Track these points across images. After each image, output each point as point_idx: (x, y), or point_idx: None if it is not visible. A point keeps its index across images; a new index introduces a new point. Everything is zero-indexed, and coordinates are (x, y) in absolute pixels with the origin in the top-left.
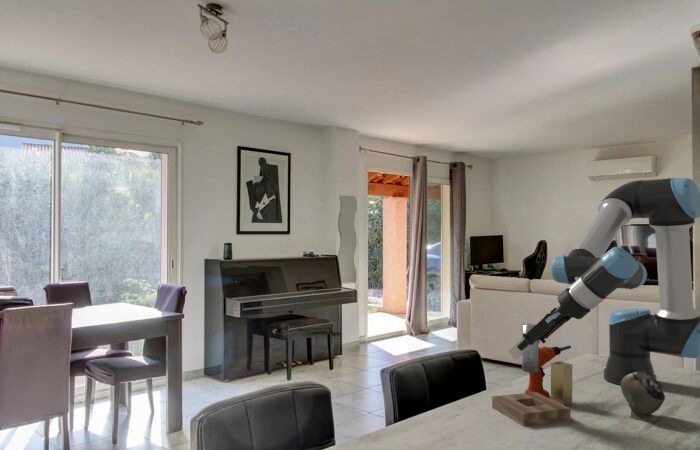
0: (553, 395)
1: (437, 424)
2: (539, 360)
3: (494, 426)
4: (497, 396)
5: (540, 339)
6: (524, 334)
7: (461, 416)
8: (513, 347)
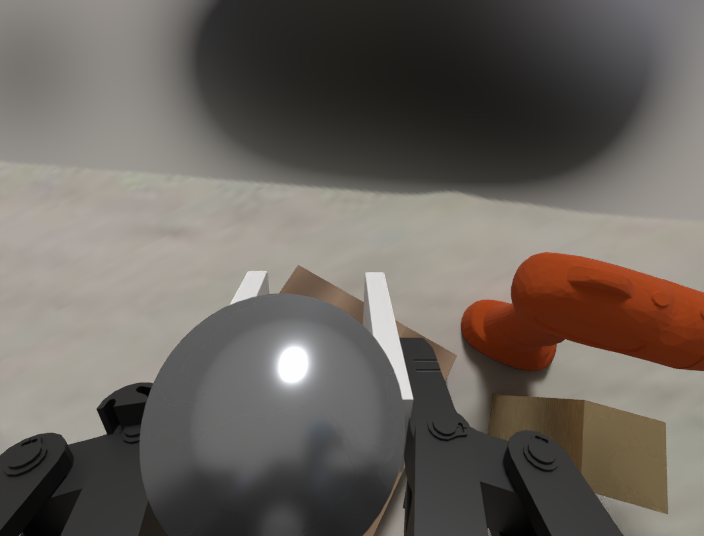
0: (503, 407)
1: (72, 233)
2: (574, 332)
3: (146, 358)
4: (309, 278)
5: (408, 475)
6: (104, 418)
7: (171, 249)
8: (234, 298)
